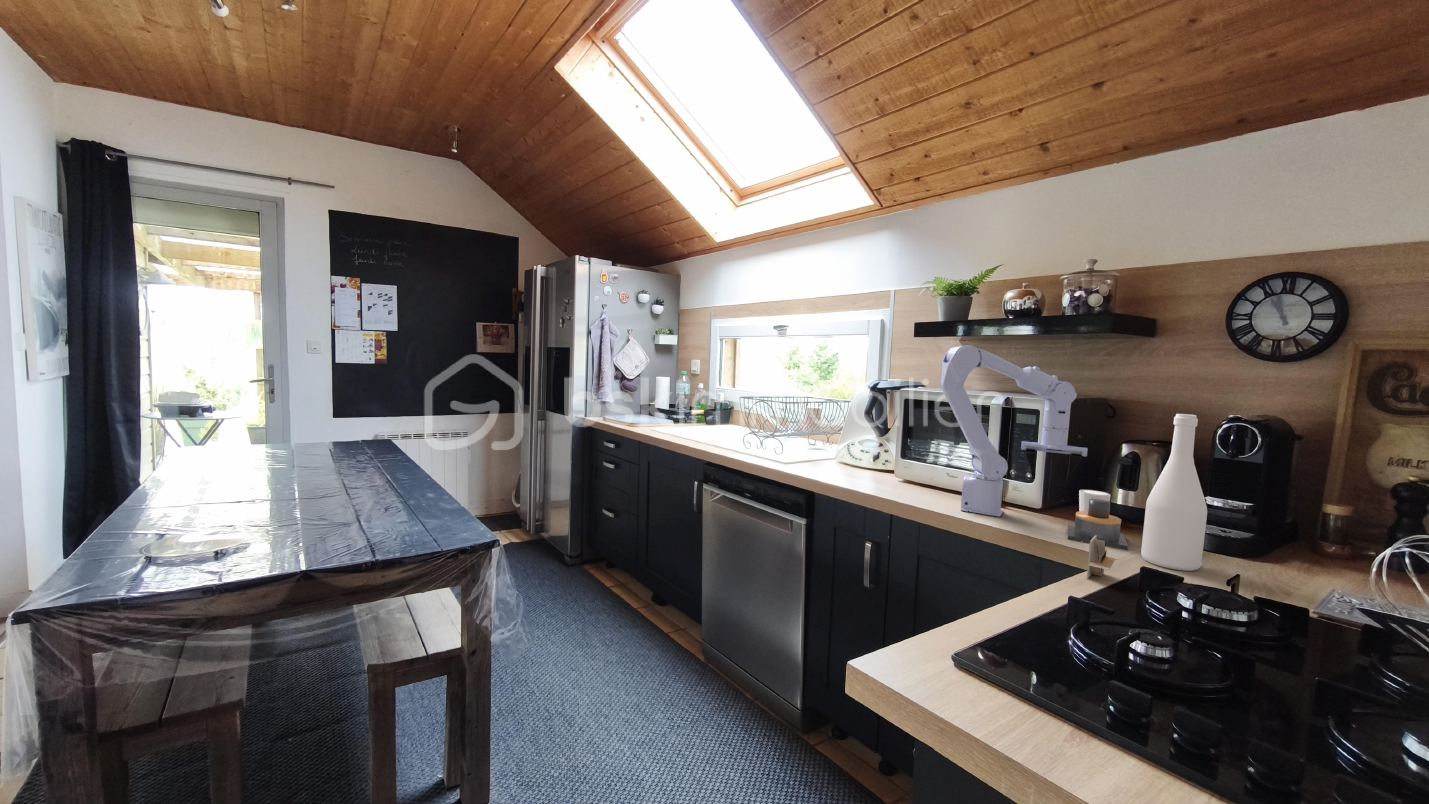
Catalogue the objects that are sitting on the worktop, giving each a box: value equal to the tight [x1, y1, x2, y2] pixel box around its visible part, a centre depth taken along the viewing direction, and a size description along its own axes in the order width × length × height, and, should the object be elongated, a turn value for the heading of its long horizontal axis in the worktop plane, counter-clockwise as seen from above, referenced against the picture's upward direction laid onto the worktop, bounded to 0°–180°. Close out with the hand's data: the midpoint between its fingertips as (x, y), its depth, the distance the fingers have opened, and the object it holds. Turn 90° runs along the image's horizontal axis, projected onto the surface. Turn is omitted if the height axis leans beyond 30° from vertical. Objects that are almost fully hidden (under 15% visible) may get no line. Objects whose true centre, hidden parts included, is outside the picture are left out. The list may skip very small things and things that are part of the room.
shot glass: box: [1078, 489, 1111, 511], centre depth 150 cm, size 7×7×7 cm
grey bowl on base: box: [1067, 516, 1129, 551], centre depth 132 cm, size 11×11×4 cm
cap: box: [1075, 499, 1122, 525], centre depth 132 cm, size 9×9×7 cm
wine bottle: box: [1140, 413, 1208, 572], centre depth 116 cm, size 10×10×30 cm
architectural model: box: [1086, 535, 1116, 580], centre depth 106 cm, size 3×7×7 cm, turn 139°
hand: (1050, 480), depth 150 cm, fingers open, 7 cm apart
